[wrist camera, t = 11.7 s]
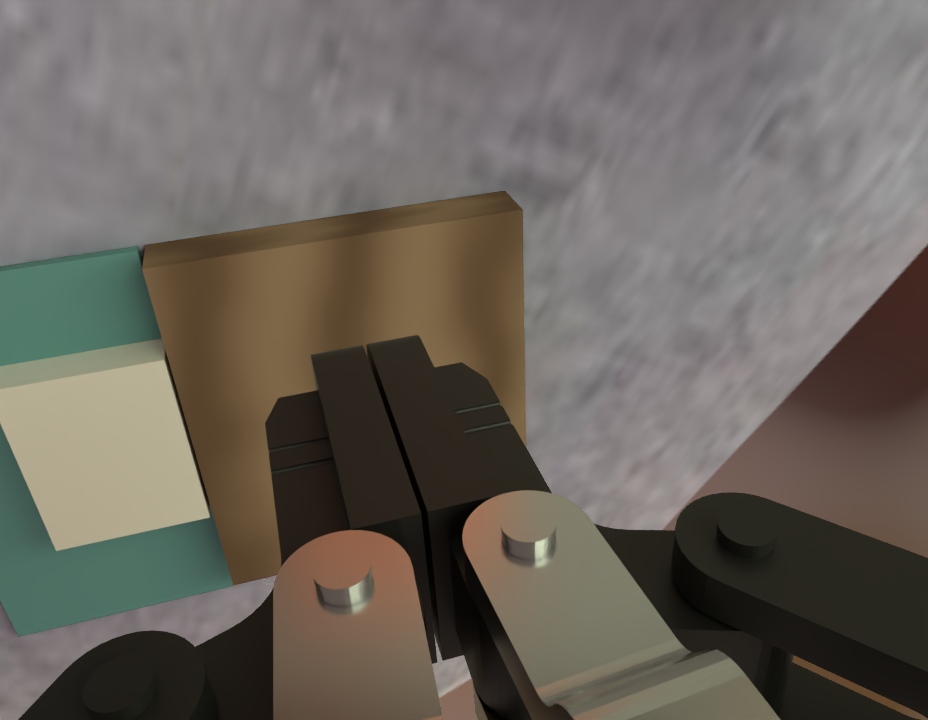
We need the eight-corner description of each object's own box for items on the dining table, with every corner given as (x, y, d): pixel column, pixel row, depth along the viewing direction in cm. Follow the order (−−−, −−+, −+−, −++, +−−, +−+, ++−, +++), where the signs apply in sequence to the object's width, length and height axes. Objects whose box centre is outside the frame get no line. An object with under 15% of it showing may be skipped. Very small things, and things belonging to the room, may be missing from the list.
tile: (165, 337, 36) (164, 360, 35) (209, 491, 41) (209, 517, 39) (-4, 366, 35) (-14, 391, 33) (62, 522, 40) (56, 551, 38)
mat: (138, 246, 34) (137, 250, 34) (233, 578, 45) (233, 585, 45) (-153, 289, 32) (-157, 295, 32) (20, 629, 43) (18, 636, 42)
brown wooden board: (504, 190, 38) (522, 209, 36) (512, 487, 47) (527, 515, 45) (145, 245, 34) (142, 269, 32) (231, 551, 44) (233, 585, 42)
